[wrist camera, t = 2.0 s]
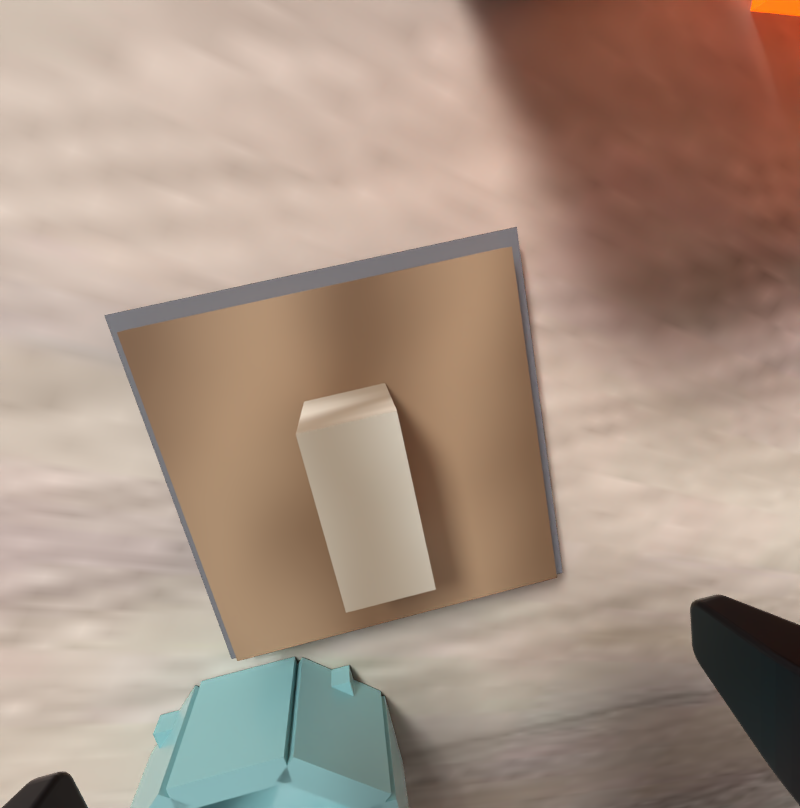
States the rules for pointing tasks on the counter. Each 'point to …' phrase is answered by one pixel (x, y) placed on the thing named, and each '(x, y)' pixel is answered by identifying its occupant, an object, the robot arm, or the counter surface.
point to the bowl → (276, 744)
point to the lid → (352, 448)
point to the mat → (323, 279)
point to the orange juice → (777, 6)
